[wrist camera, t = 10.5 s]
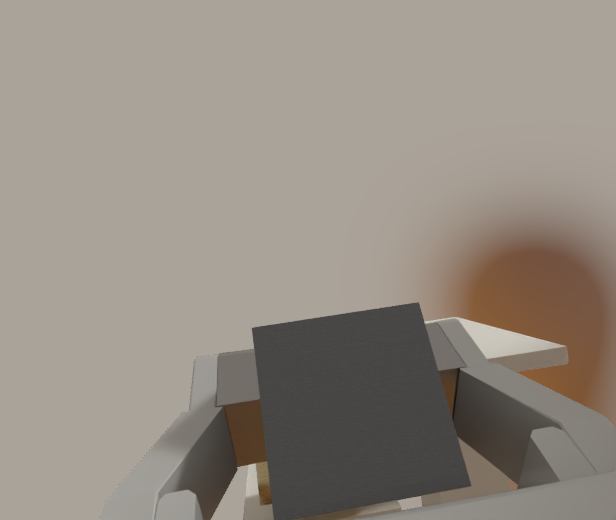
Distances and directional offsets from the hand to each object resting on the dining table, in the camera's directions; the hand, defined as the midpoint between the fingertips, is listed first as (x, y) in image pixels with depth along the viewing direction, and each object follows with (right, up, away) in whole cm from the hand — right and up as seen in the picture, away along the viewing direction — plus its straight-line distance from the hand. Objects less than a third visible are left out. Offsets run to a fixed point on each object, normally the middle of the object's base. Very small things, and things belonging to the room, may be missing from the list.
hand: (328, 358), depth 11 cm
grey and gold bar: (0, -7, +7) cm, 10 cm away
